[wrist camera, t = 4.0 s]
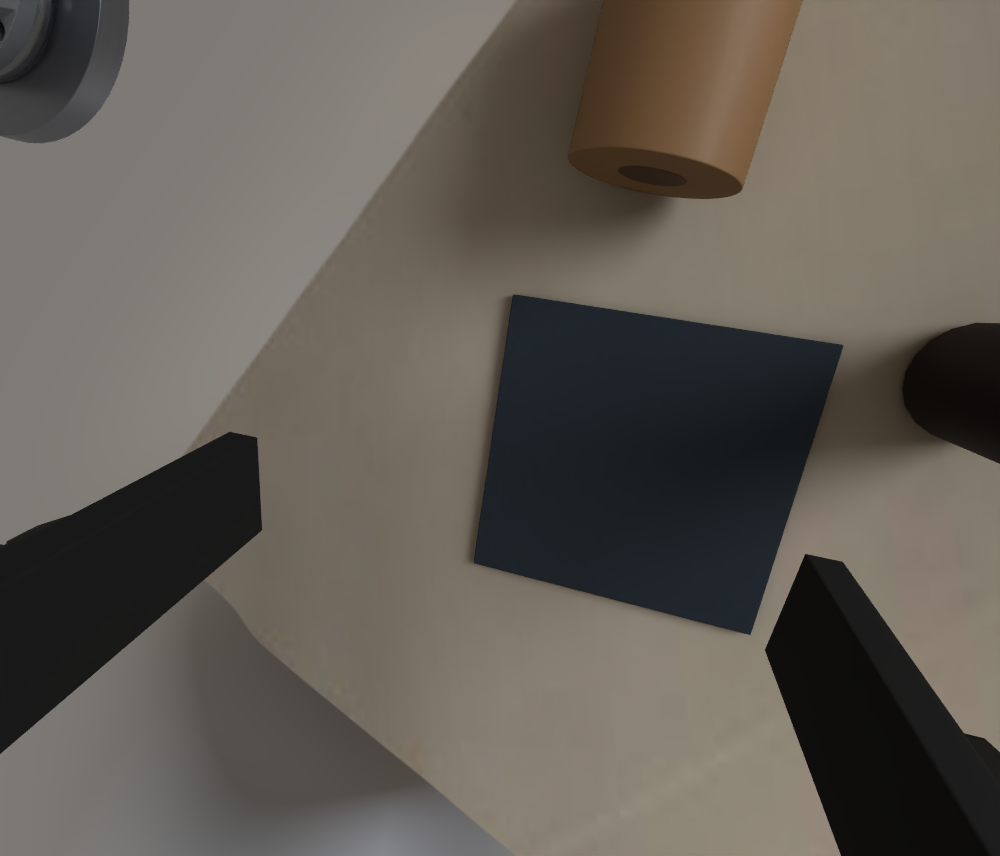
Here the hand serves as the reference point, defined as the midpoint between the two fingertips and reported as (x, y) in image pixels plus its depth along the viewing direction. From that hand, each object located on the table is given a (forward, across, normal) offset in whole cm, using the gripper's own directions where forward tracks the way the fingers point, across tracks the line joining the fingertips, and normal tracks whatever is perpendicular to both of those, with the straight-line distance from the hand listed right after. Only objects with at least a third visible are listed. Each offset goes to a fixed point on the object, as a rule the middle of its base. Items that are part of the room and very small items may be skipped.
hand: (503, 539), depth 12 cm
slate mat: (+23, -6, +7) cm, 25 cm away
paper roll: (+21, -3, -16) cm, 27 cm away
